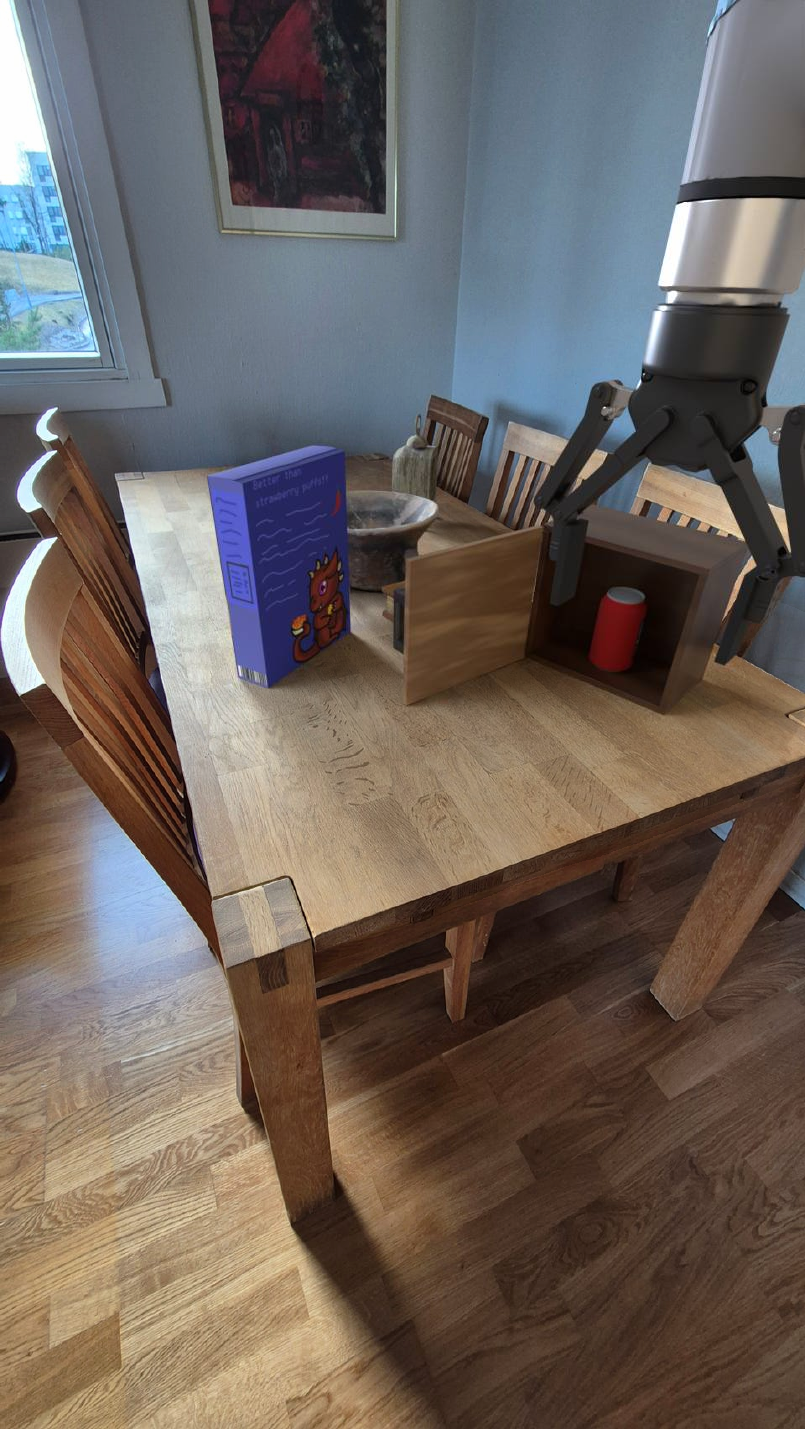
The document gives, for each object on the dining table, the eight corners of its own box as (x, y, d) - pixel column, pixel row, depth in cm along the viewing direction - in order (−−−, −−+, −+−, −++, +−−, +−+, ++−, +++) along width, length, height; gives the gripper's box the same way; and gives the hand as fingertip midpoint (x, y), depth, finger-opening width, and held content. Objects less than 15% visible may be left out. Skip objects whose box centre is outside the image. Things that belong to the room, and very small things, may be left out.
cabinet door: (381, 686, 94) (381, 546, 82) (497, 643, 106) (512, 515, 94) (406, 705, 90) (410, 561, 78) (523, 658, 102) (543, 526, 90)
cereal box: (323, 623, 111) (312, 443, 94) (350, 631, 109) (344, 448, 92) (238, 677, 96) (206, 474, 79) (268, 688, 94) (242, 481, 76)
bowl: (328, 550, 141) (325, 482, 132) (445, 561, 137) (449, 491, 128) (287, 599, 119) (280, 521, 111) (424, 613, 115) (427, 533, 107)
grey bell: (427, 532, 153) (431, 421, 138) (390, 529, 154) (391, 419, 140) (435, 514, 164) (440, 410, 150) (401, 512, 166) (403, 408, 151)
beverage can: (640, 668, 98) (660, 598, 91) (609, 679, 96) (626, 607, 89) (609, 650, 103) (626, 581, 96) (578, 659, 100) (593, 589, 94)
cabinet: (663, 715, 90) (709, 569, 77) (524, 656, 103) (543, 523, 90) (702, 679, 98) (749, 542, 85) (568, 629, 111) (592, 504, 99)
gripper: (997, 308, 32) (827, 666, 44) (569, 294, 46) (530, 569, 58) (978, 310, 27) (795, 709, 40) (510, 293, 41) (481, 593, 53)
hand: (637, 627), depth 49 cm, fingers open, 13 cm apart
